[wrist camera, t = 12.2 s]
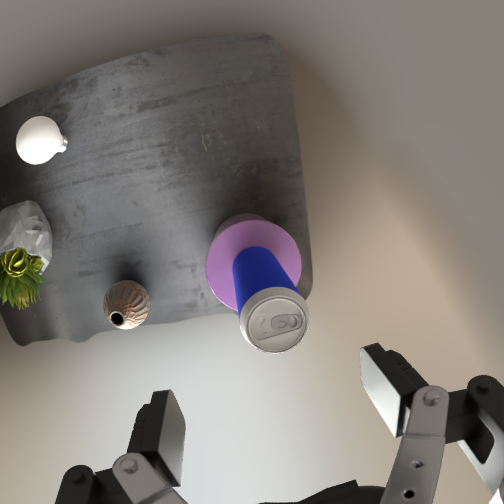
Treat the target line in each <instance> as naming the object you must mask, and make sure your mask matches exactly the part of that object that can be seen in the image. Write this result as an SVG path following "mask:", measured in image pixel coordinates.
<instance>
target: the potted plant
mask: <svg viewBox="0 0 504 504" xmlns="http://www.w3.org/2000/svg"><path fill="white" fill-rule="evenodd" d="M52 239H53V236H52V233H51V229H50V225H49V222H48V221H47V219H46V217H45V215H44V213H43V212H42V210H41V208H40V206H39V205H38V204H37V203H36V202H35V201H28V200H27V201H24V202H21V203H17V204H15V205H12V206H9V207H6V208H5V209H3V210H2V211H1V212H0V297H1V294H2V298H3V304H4V302H5V301H6V299H7V298H8V300H9V301H10V304H11V305H12V308H13V305H14V303H15V304H16V305H17V307H18V308H19V310H20V307H22V309H23V305H24V307H25V308H26V306H27V305H28V306H27V307H29V297H30V300H31V304H32V299H33V300H34V301H35V302H36V300H35V293H36V294H37V295H38V297H39V298H40V294H39V292H40V290H39V288H38V285H39V286H40V284H39V282H41V283H43V284H44V281H43V279H42V277H41V274H42V273H43V271H44V270H45V268H46V267H47V266H48V264H49V263H50V260H51V258H52ZM37 284H38V285H37ZM40 287H41V286H40ZM3 292H4V293H3ZM40 300H41V298H40Z"/></svg>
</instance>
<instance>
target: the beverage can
mask: <svg viewBox="0 0 504 504" xmlns="http://www.w3.org/2000/svg"><path fill="white" fill-rule="evenodd" d="M232 273H233V280H234V288H235V295H236V302H237V309H238V316H239V323H240V328H241V331H242V334H243V335H244V337H245V338H246V340H247V341H248V342H249V343H250V344H252V345H253V346H254V347H255V348H256V349H258V350H260V351H262V352H265V353H271V354H277V353H283V352H286V351H289V350H291V349H293V348H294V347H295V346H297V345H298V344H299V343H300V342H301V341H302V339H303V338H304V336H305V335H306V332H307V330H308V325H309V309H308V306H307V304H306V302H305V300H304V299H303V297H302V296H301V294H300V293H299V291H298V290H297V288H296V287H295V285H294V284H293V282H292V281H291V279H290V278H289V276H288V275H287V273H286V272H285V270H284V269H283V267H282V266H281V265H280V263H279V262H278V260H277V259H276V257H275V256H274V254H273V253H272V252H271V251H269V250H268V249H266V248H264V247H259V246H252V247H248V248H246V249H244V250H242V251H241V252H240V253H239V254H238V255H237V256H236V258H235V260H234V262H233V266H232Z"/></svg>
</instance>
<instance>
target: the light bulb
mask: <svg viewBox="0 0 504 504" xmlns="http://www.w3.org/2000/svg"><path fill="white" fill-rule="evenodd" d="M67 143H68V141H67V138H66V136H65V135H63V134H60V131H59V128H58V126H57V124H56V123H55V122H54V121H53V120H52V119H50V118H48V117H45V116H37V117H34V118H31V119H29V120H28V121H27V122H25V123H24V124H23V125H22V127H21V128H20V130H19V132H18V134H17V138H16V148H17V152H18V154H19V155H20V157H21V158H22V159H23V160H24V161H26V162H27V163H30V164H41V163H44V162H46V161H48V160H49V159H51V158H52V157H53V156H54V154H55V153H61V152H63V151H64V150H65V149H66V147H67Z"/></svg>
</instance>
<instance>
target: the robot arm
mask: <svg viewBox="0 0 504 504" xmlns="http://www.w3.org/2000/svg"><path fill="white" fill-rule="evenodd" d="M360 372H361V381H362V385H363V387H364V389H365V391H366V392H367V394H368V395H369V397H370V398H371V400H372V402H373V403H374V405H375V406H376V408H377V410H378V411H379V413H380V414H381V416H382V417H383V419H384V421H385V422H386V424H387V425H388V427H389V429H390V430H391V432H392V433H393V435H394V436H395V438H397V437H399V436H402V435H403V436H402V440H401V443H400V446H399V449H398V453H397V456H396V459H395V463H394V465H393V468H392V471H391V474H390V477H389V480H388V482H387V485H386V488H385V487H380V486H358V484H357V482H356V480H352V481H349V482H346V483H343V484H340V485H336V486H333V487H330V488H326V489H324V490H323V491H320V492H318V493H316V494H315V495H312V496H310V497H308V498H306V499H304V500H302V501H299V502H294V503H293V502H288V503H268V502H265V503H259V504H432V503H433V499H434V495H435V491H436V486H437V482H438V478H439V473H440V468H441V463H442V458H443V452H444V446H445V444H447V443H452V442H458V444H459V445H460V447H461V448H462V450H463V451H464V453H465V454H466V455H467V457H468V458H469V460H470V461H471V463H472V464H473V466H474V467H475V469H476V470H477V472H478V474H479V475H480V477H481V478H482V479H483V481H484V483H485V484H486V486H487V487H488V489H489V490H490V492H491V494H492V495H493V496H492V497H491V499H490V501H489V504H504V387H503V386H502V385H501V384H500V383H499V382H498V381H497V380H496V379H495V378H493V377H491V376H487V375H479V376H476V377H474V378H472V379H471V380H470V381H469V383H468V386H467V389H463V390H459V391H454V392H447V391H446V390H445V389H443V388H442V387H439V386H433V385H429V384H428V383H427V382H426V381H425V380H424V379H423V378H422V377H421V376H420V375H419V373H418V372H417V371H416V370H415V369H414V368H412V366H411V365H410V364H409V363H408V362H407V361H406V359H405V358H404V357H403V356H402V355H401V354H399V353H397V352H395V351H393V350H389V351H385V350H384V349H383V348H382V347H381V346H380V344H379V343H374V344H371V345H368V346H365V347H362V348H361V349H360ZM135 421H136V423H135V424H134V427H133V428H134V430H133V431H132V435H131V438H130V442H129V446H128V449H127V453H126V454H124V455H122V456H120V457H119V458H118V459H117V460H116V461H115V462H114V464H113V467H112V468H110V469H107V470H103V471H99V472H93V471H92V469H91V468H89V467H88V466H85V465H77V466H74V467H72V468H70V469H69V470H68V471H67V472H66V473H65V475H64V476H63V479H62V482H61V486H60V489H59V492H58V495H57V498H56V502H55V504H188V503H187V502H186V501H185V500H184V499H183V498H182V497H181V496H180V495H179V494H178V493H177V492H176V491H175V490H174V489H173V488H172V487H179V486H181V474H182V461H183V450H184V439H185V428H186V427H185V420H184V417H183V414H182V412H181V410H180V407H179V405H178V403H177V400H176V398H175V396H174V394H173V392H172V390H163V391H156V392H153V395H152V398H151V403H150V404H144V405H143V407H142V408H141V409H140V410H139V411H138V413H137V417H136V420H135Z"/></svg>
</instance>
